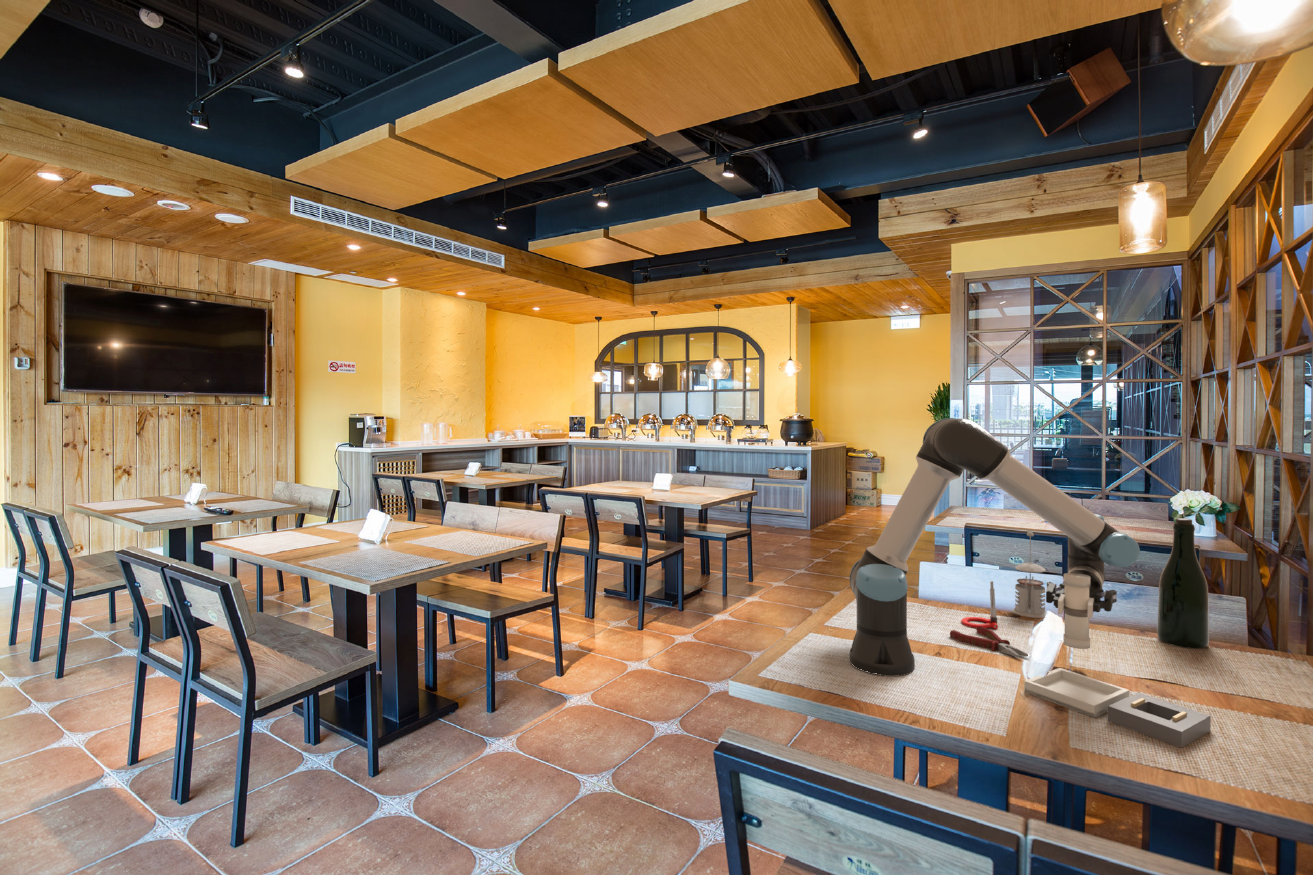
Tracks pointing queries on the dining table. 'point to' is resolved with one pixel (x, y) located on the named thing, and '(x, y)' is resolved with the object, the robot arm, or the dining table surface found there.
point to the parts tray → (1075, 691)
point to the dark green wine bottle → (1183, 593)
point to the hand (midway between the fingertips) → (1074, 609)
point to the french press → (1030, 591)
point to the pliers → (988, 642)
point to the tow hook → (989, 622)
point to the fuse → (1076, 610)
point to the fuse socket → (1159, 719)
